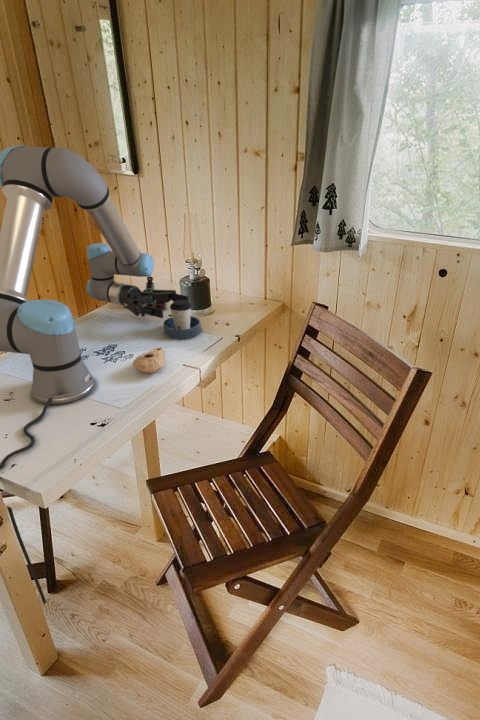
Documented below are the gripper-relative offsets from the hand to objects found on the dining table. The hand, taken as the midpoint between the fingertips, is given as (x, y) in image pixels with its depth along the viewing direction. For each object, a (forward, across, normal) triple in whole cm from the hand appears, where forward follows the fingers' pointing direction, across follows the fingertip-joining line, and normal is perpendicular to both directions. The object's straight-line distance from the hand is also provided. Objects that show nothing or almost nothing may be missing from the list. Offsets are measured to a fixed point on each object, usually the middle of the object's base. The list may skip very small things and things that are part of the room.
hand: (175, 306), depth 153 cm
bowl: (+2, 0, -9) cm, 9 cm away
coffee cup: (+2, 0, -8) cm, 9 cm away
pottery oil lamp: (+10, +24, -9) cm, 28 cm away
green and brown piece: (-20, -14, -9) cm, 26 cm away
